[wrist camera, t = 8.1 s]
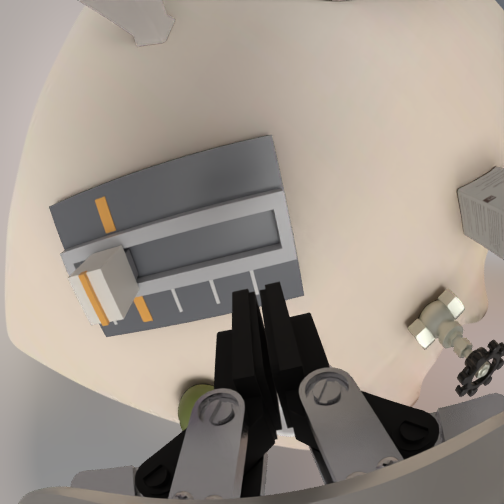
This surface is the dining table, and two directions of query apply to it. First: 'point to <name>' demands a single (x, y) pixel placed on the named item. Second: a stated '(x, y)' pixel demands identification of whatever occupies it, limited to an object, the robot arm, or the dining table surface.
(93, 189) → the console
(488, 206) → the skincare box
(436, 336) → the valve
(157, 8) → the perfume bottle
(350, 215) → the dining table surface
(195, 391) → the pear
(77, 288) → the fader
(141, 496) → the robot arm
